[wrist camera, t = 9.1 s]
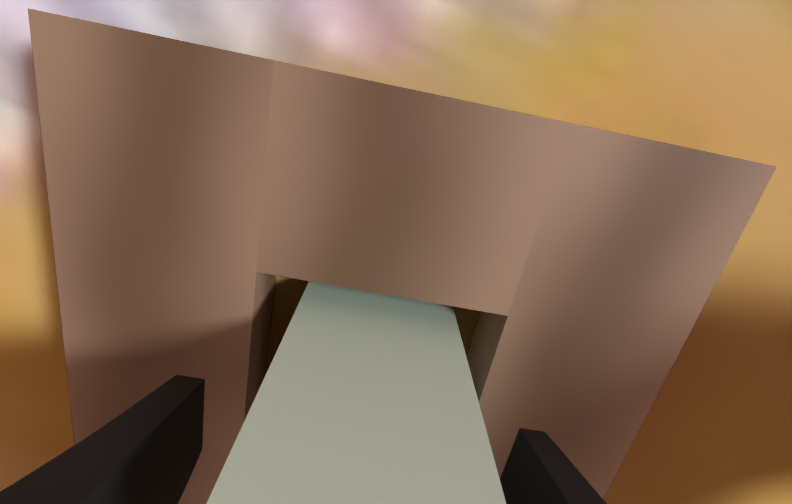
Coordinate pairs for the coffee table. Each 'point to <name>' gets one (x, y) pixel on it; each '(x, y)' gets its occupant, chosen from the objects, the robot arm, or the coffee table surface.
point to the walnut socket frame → (363, 234)
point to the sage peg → (364, 410)
